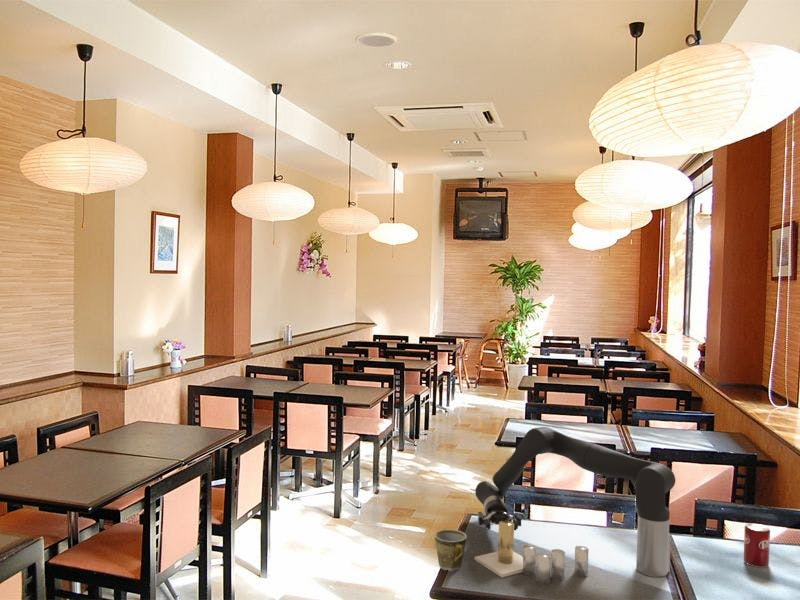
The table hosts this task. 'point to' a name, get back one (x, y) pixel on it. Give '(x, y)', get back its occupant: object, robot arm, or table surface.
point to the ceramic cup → (450, 548)
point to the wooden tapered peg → (506, 542)
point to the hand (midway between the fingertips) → (502, 527)
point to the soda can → (756, 545)
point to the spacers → (553, 563)
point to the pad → (501, 564)
